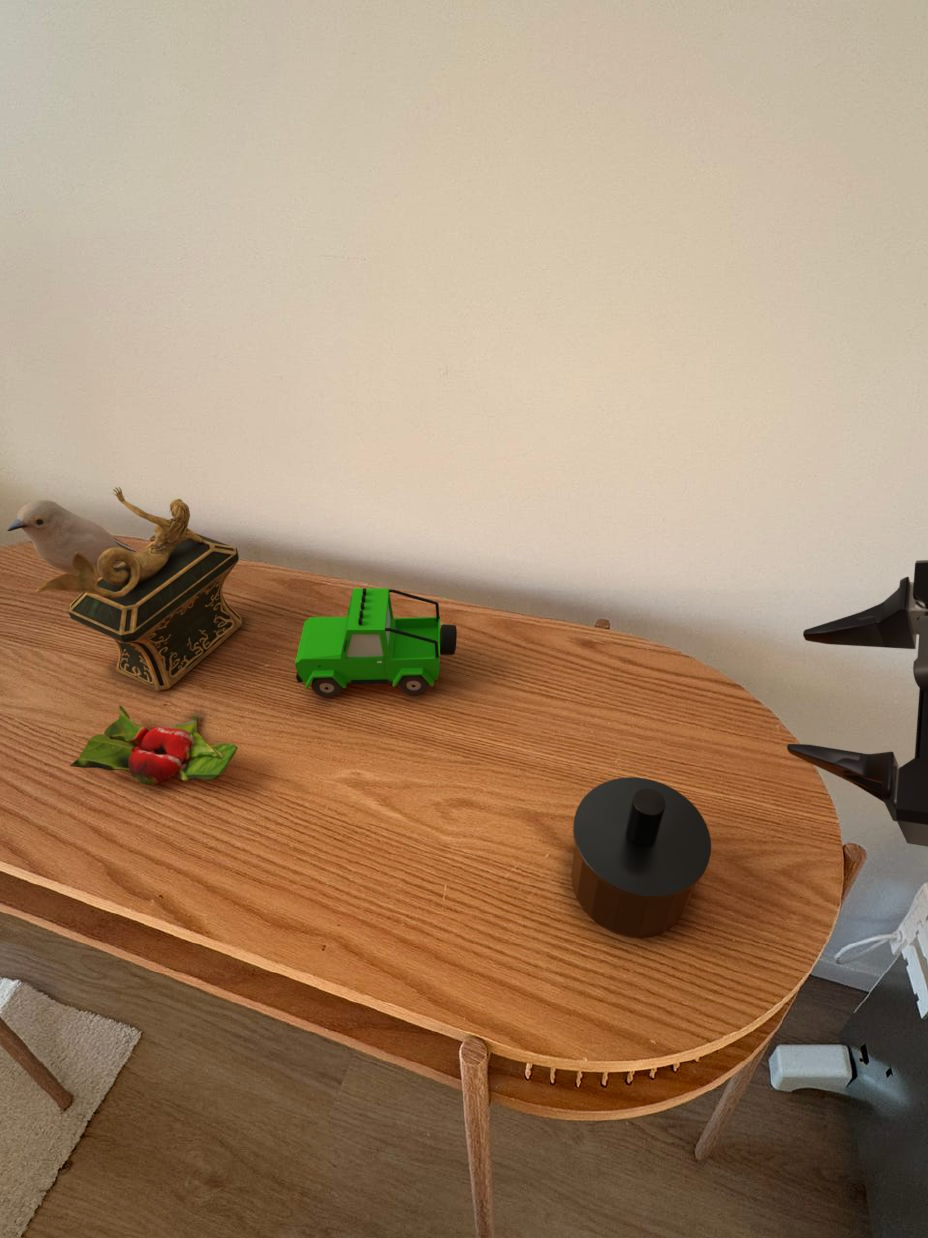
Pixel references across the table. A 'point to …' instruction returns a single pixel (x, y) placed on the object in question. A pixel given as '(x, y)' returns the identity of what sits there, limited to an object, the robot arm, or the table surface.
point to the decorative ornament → (155, 751)
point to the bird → (64, 535)
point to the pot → (625, 905)
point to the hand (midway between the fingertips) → (796, 690)
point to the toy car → (373, 646)
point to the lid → (642, 838)
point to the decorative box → (156, 598)
